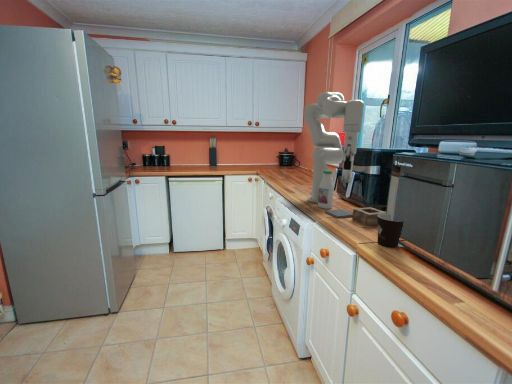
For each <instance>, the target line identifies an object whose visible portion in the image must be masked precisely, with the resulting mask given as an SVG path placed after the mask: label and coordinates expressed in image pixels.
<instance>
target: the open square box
mask: <svg viewBox="0 0 512 384" xmlns="http://www.w3.org/2000/svg"><path fill="white" fill-rule="evenodd" d="M352 213H353V217H352V218H351V219H352V220H353V221H356V222H358V223H361V224H362V225H365V226H367V227H370V226H372V227H373V226H378V215H379V214H386V213H387V212H386V211H383V210H381V209H378V208H374V207H370V206H369V207H359V208H353V210H352Z"/></svg>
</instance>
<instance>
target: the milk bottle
mask: <svg viewBox="0 0 512 384" xmlns="http://www.w3.org/2000/svg"><path fill="white" fill-rule="evenodd" d="M332 176H333V171H332V170H330V169H329V170H324V171H323V178H322V180H321V182H320V185H319V195H318V203H317V207H318V208H321V209H324V210H325V209H326V210H327V209H329V210H331V209H333V206H334V204H333V202H334V195H335V194H334V192H335V189H334V188H335V184H334V181H333V179H332Z"/></svg>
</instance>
